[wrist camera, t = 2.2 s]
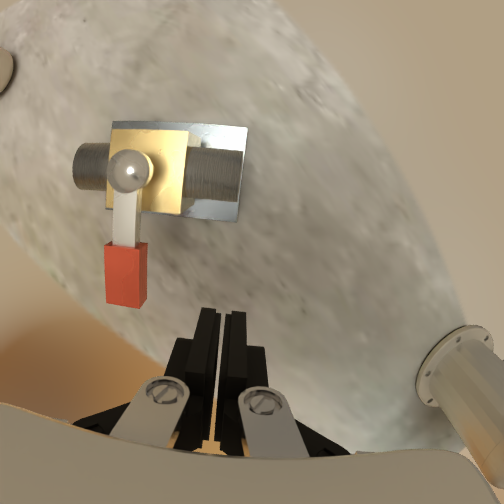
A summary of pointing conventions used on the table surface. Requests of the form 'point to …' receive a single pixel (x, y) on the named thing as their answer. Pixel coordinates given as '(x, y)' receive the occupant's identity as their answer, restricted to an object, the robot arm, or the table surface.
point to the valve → (173, 167)
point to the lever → (127, 230)
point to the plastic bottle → (5, 68)
